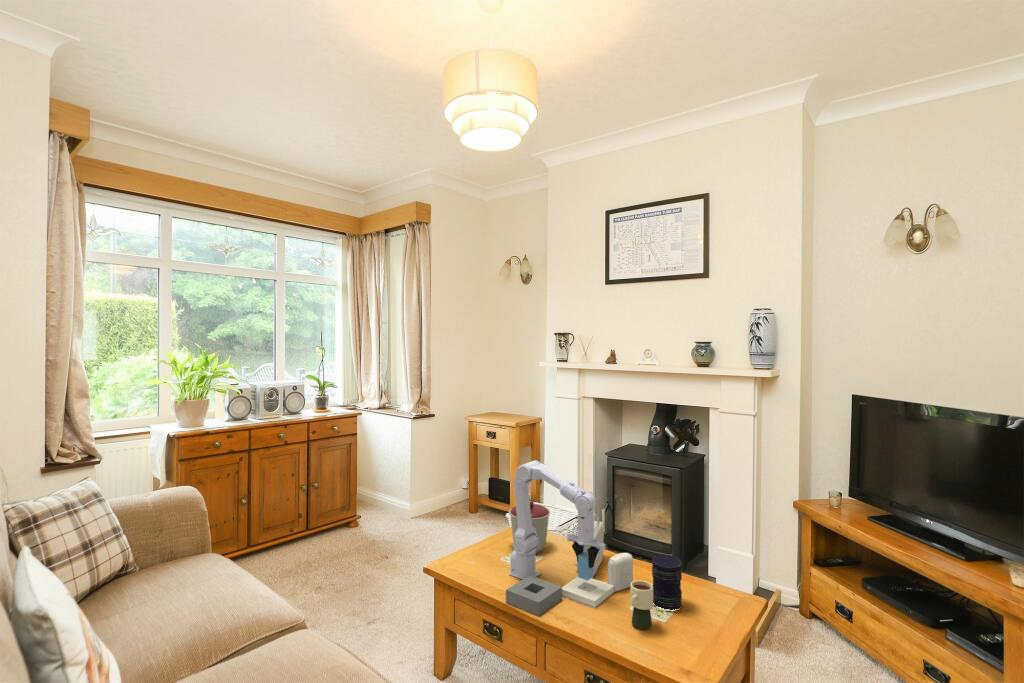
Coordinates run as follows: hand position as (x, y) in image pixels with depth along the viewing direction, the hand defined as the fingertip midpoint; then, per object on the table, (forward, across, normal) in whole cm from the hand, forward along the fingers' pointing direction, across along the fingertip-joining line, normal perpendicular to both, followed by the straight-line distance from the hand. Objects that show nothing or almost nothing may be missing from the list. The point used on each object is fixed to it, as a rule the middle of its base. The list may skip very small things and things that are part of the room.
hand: (585, 565), depth 186 cm
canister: (+11, -40, +19) cm, 46 cm away
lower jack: (+10, 0, 0) cm, 11 cm away
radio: (+11, -11, +20) cm, 26 cm away
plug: (+4, 0, 0) cm, 4 cm away
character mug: (+11, +24, -6) cm, 27 cm away
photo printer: (+11, +7, +13) cm, 18 cm away
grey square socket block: (+10, -12, -16) cm, 22 cm away
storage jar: (+11, +25, +12) cm, 30 cm away
